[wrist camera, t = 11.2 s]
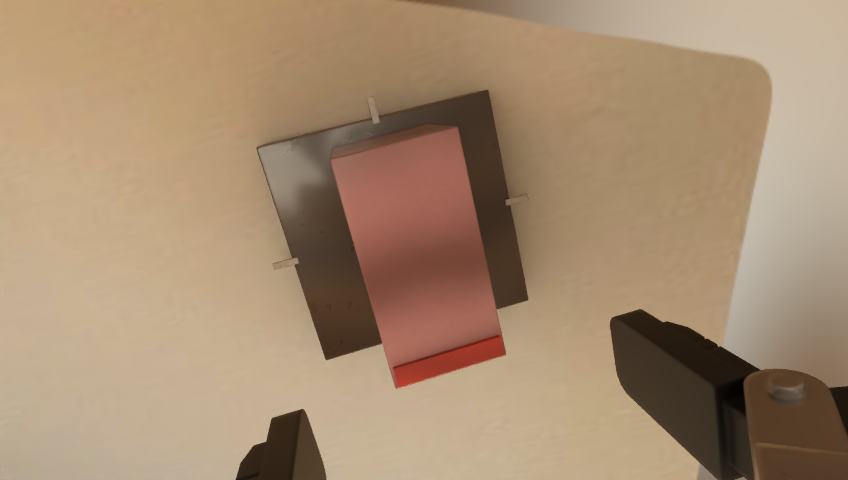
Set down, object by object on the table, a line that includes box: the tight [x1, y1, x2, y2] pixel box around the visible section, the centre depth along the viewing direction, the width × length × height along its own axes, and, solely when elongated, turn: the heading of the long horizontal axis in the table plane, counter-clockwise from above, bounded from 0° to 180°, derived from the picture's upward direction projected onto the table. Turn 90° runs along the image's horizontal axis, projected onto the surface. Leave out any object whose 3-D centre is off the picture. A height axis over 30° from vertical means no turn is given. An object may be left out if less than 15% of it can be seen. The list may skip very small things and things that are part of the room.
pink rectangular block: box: [330, 124, 506, 389], centre depth 25 cm, size 11×6×7 cm, turn 14°
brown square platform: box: [257, 90, 529, 360], centre depth 30 cm, size 15×15×2 cm
